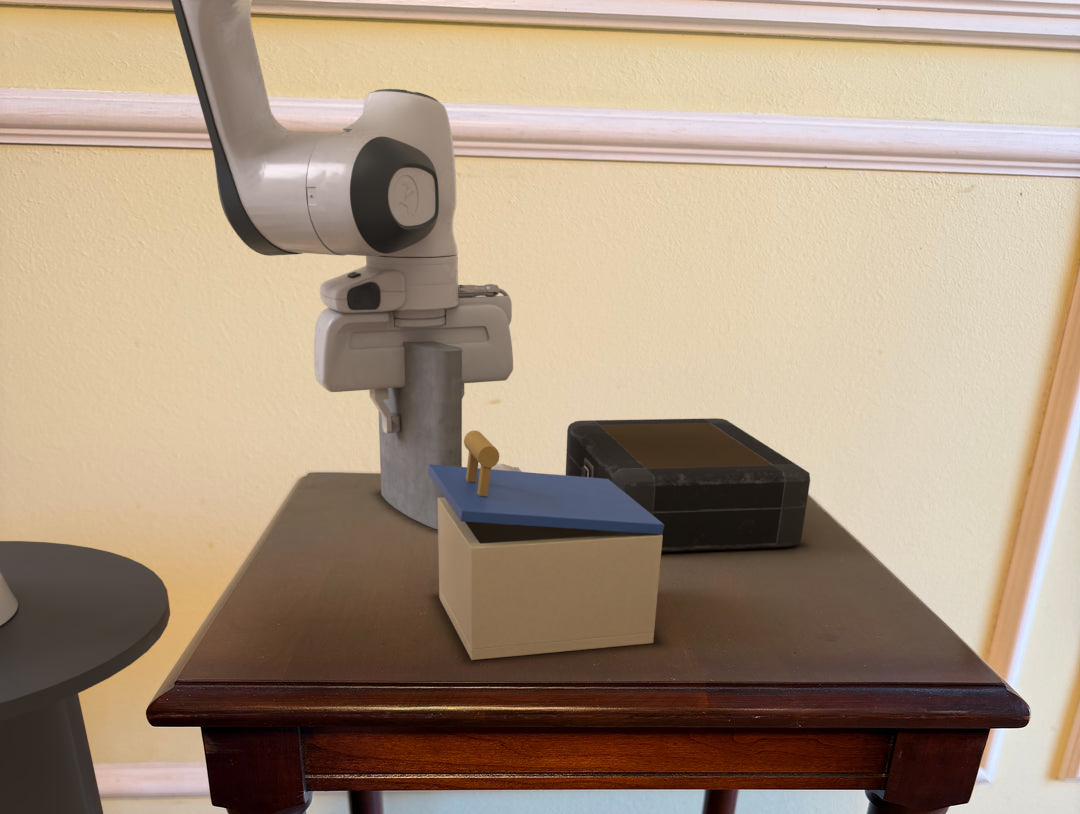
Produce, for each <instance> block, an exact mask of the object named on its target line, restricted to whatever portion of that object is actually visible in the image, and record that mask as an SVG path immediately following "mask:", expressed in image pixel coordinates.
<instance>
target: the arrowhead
mask: <svg viewBox="0 0 1080 814" xmlns="http://www.w3.org/2000/svg"><path fill="white" fill-rule="evenodd" d="M480 466H481V464H478V468H480ZM491 469H493V470H505V471H517V472H523V471H522V470H521V469H520V467H518V466H511V465H508V464H506V463H497V464H496V465H495V466H493V467H491Z"/></svg>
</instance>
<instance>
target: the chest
mask: <svg viewBox="0 0 1080 814" xmlns="http://www.w3.org/2000/svg"><path fill="white" fill-rule="evenodd" d="M437 537H438V538H437V542H438V543H437V544H438V547H437V548H438V589H439V591H438V592H439V593H438V595H439V596H438V597H439V599H440V602H441V604H442V606H443V608H444V610H445V612H446V614H447V616H448V617H449V619H450V622H451V623H452V625H453V627H454V629H455V631H456V633H457V635H458V637H459V639H460V641H461V643H462V645H463V646H464V648H465V650H466V653H467V654H468V656H469V658H470V660H471V661H476V660H486V659H499V658H508V657H510V658H511V657H521V656H530V655H531V656H532V655H540V654H550V653H551V654H552V653H562V652H563V653H564V652H572V651H582V650H593V649H605V648H615V647H626V646H636V645H637V646H638V645H647V644H654V640H655V639H654V637H655V625H656V615H657V605H658V604H657V603H658V594H659V593H658V592H659V582H660V572H661V571H660V570H661V559H662V553H661V549H662V538H663V535H661V534H646V533H631V532H616V531H600V530H585V529H570V528H554V527H539V526H523V525H508V524H493V523H477V522H462V521H460V519H459V518H458V516H457V515H456V513H455V512H454V510H453V509H452V507H451V506H450V505H449V503H448V502H447V500H446V499H445V497H442V498H438V530H437Z"/></svg>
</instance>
